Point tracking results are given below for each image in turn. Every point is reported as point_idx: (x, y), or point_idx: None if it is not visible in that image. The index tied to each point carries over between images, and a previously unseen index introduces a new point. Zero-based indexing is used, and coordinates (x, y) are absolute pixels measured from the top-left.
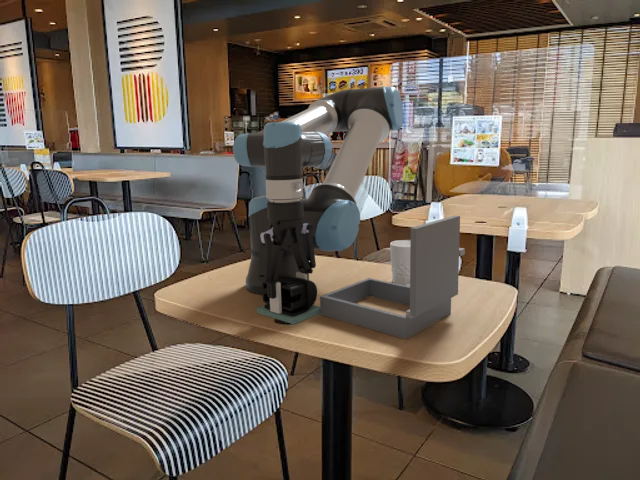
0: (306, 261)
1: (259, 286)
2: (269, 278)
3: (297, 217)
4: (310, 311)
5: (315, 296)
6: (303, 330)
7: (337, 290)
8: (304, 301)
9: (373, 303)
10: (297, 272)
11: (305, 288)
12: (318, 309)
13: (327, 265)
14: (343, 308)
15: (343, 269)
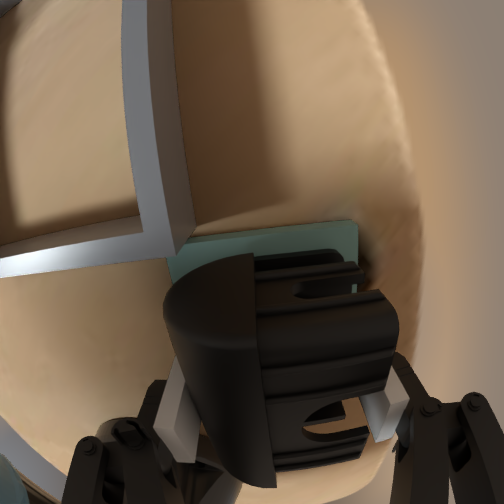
0: (136, 494)
1: None
2: (473, 408)
3: None
4: (238, 248)
5: (191, 277)
6: (364, 143)
7: (60, 261)
8: (275, 272)
9: (8, 188)
10: (184, 461)
11: (260, 318)
12: (194, 243)
13: (36, 435)
14: (160, 83)
15: (13, 406)
